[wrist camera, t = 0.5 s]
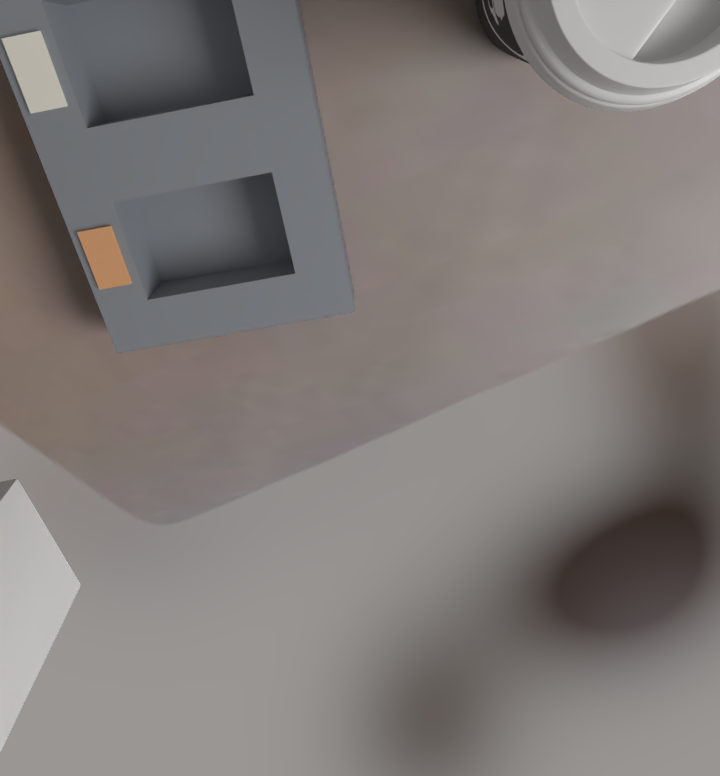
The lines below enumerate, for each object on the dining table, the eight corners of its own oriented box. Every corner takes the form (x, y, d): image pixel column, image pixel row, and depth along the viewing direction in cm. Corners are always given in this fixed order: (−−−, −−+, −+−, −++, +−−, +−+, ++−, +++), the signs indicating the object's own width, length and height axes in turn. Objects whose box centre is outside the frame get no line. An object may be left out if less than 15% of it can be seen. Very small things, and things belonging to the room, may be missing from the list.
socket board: (-7, -49, 30) (-50, -62, 27) (277, -111, 29) (269, -132, 26) (135, 329, 40) (115, 354, 36) (353, 290, 39) (354, 313, 35)
